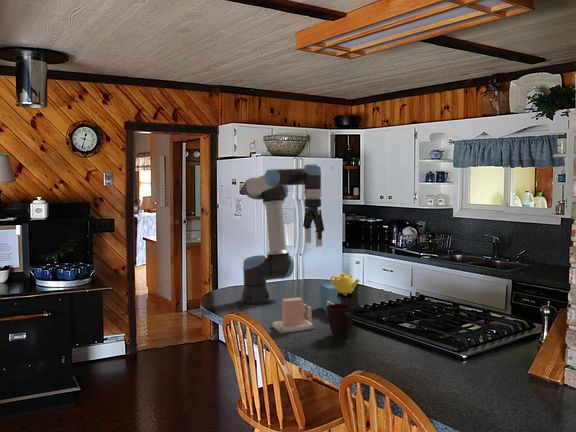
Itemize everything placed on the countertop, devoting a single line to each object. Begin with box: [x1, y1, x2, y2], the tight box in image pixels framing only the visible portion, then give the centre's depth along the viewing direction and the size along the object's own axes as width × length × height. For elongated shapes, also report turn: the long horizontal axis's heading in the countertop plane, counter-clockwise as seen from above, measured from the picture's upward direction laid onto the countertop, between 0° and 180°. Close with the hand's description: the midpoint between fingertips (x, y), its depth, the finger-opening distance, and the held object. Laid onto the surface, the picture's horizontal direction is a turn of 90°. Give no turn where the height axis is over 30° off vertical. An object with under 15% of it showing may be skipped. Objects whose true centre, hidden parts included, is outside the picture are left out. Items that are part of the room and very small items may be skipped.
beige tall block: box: [281, 296, 304, 327], centre depth 247 cm, size 5×8×12 cm, turn 110°
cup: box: [326, 303, 354, 338], centre depth 233 cm, size 10×14×12 cm
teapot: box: [329, 272, 360, 297], centre depth 312 cm, size 14×14×11 cm
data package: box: [319, 283, 338, 313], centre depth 277 cm, size 12×4×12 cm, turn 16°
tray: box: [271, 318, 315, 334], centre depth 247 cm, size 11×15×2 cm
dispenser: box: [303, 301, 334, 324], centre depth 260 cm, size 8×13×7 cm, turn 110°
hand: (313, 244), depth 263 cm, fingers open, 13 cm apart
